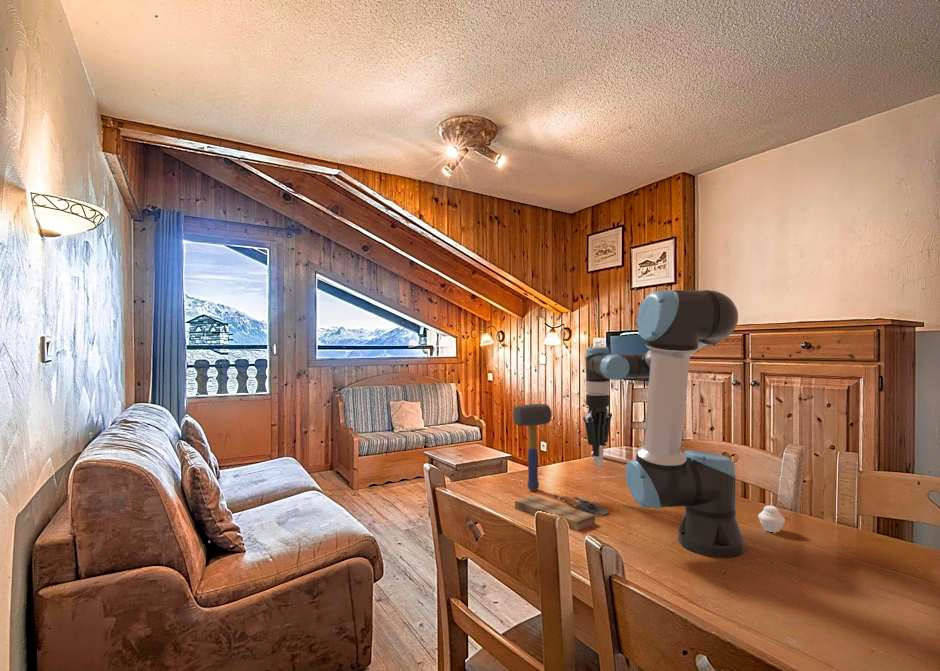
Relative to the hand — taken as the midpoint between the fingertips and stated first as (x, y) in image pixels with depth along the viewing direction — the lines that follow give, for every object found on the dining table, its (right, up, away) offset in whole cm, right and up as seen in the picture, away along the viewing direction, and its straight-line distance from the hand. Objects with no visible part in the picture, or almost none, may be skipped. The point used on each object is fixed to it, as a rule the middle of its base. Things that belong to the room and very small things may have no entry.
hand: (598, 465), depth 163 cm
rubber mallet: (-20, -11, +10) cm, 25 cm away
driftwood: (-7, -12, -6) cm, 15 cm away
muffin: (+40, -11, -29) cm, 50 cm away
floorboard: (-17, -11, -15) cm, 26 cm away
